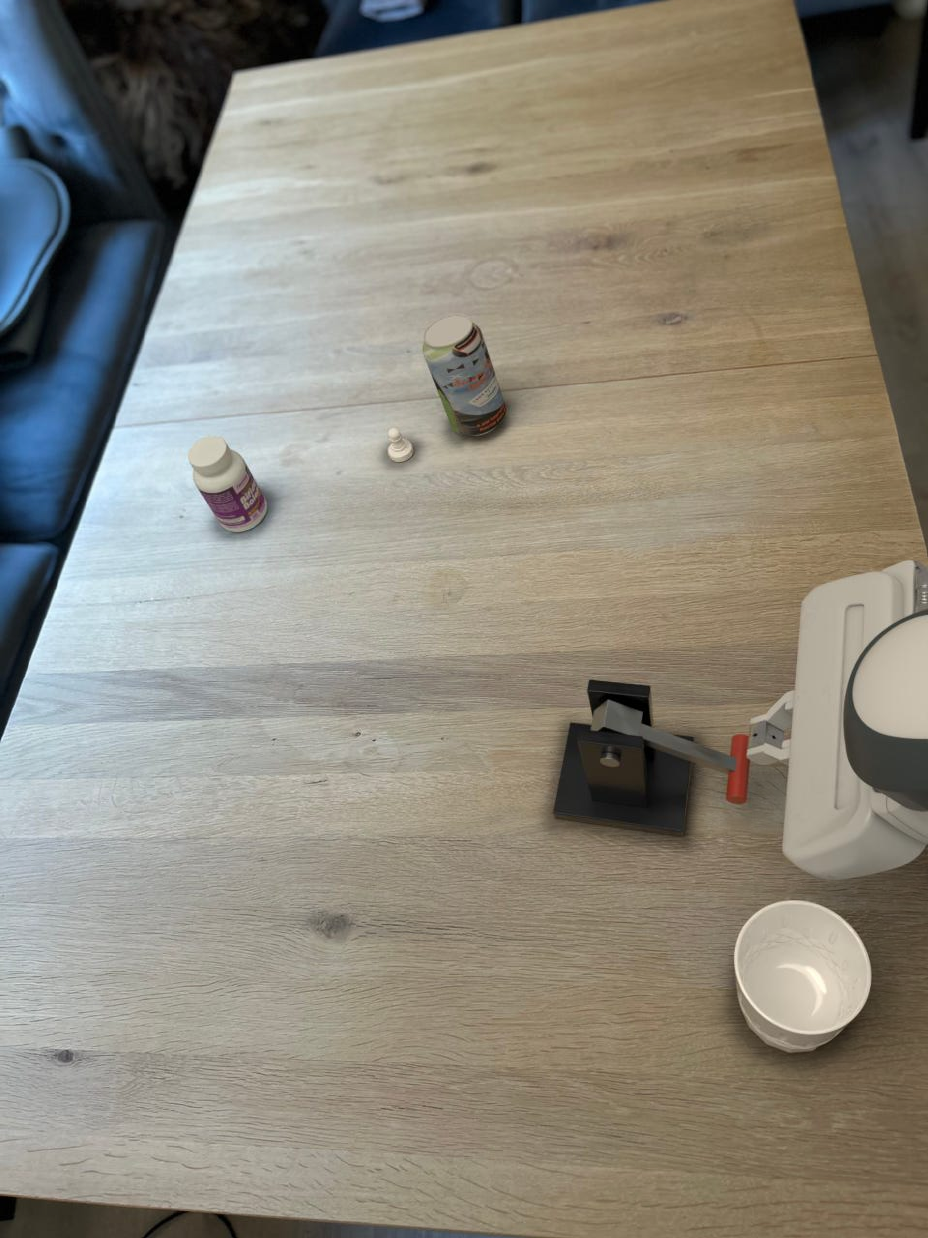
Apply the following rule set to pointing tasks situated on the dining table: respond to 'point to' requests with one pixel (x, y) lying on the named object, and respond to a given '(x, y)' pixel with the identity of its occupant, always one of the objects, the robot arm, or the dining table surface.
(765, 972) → the white cup
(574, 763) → the switch bracket
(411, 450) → the chess pawn
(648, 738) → the power lever
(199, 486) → the pill bottle
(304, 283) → the dining table surface
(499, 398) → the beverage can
